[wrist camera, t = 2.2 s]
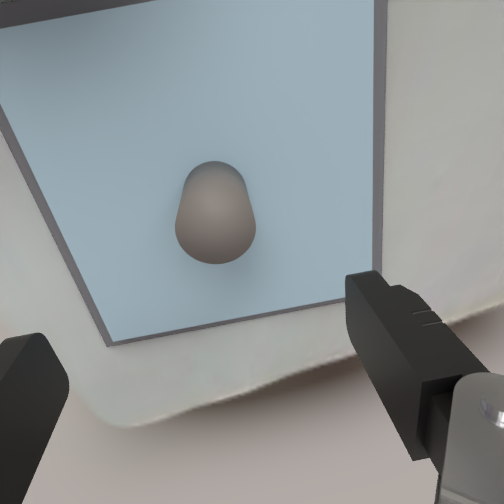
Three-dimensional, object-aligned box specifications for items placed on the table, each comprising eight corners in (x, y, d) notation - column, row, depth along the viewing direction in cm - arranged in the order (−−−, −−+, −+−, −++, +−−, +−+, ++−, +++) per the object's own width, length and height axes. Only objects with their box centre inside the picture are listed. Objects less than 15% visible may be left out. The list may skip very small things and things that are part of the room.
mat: (384, -64, 16) (388, -68, 16) (378, 290, 26) (380, 294, 25) (-49, 15, 16) (-57, 14, 15) (108, 342, 25) (107, 346, 25)
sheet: (367, -35, 16) (438, -82, 11) (367, 285, 25) (407, 343, 20) (-22, 36, 16) (-133, 22, 11) (115, 333, 24) (90, 404, 19)
